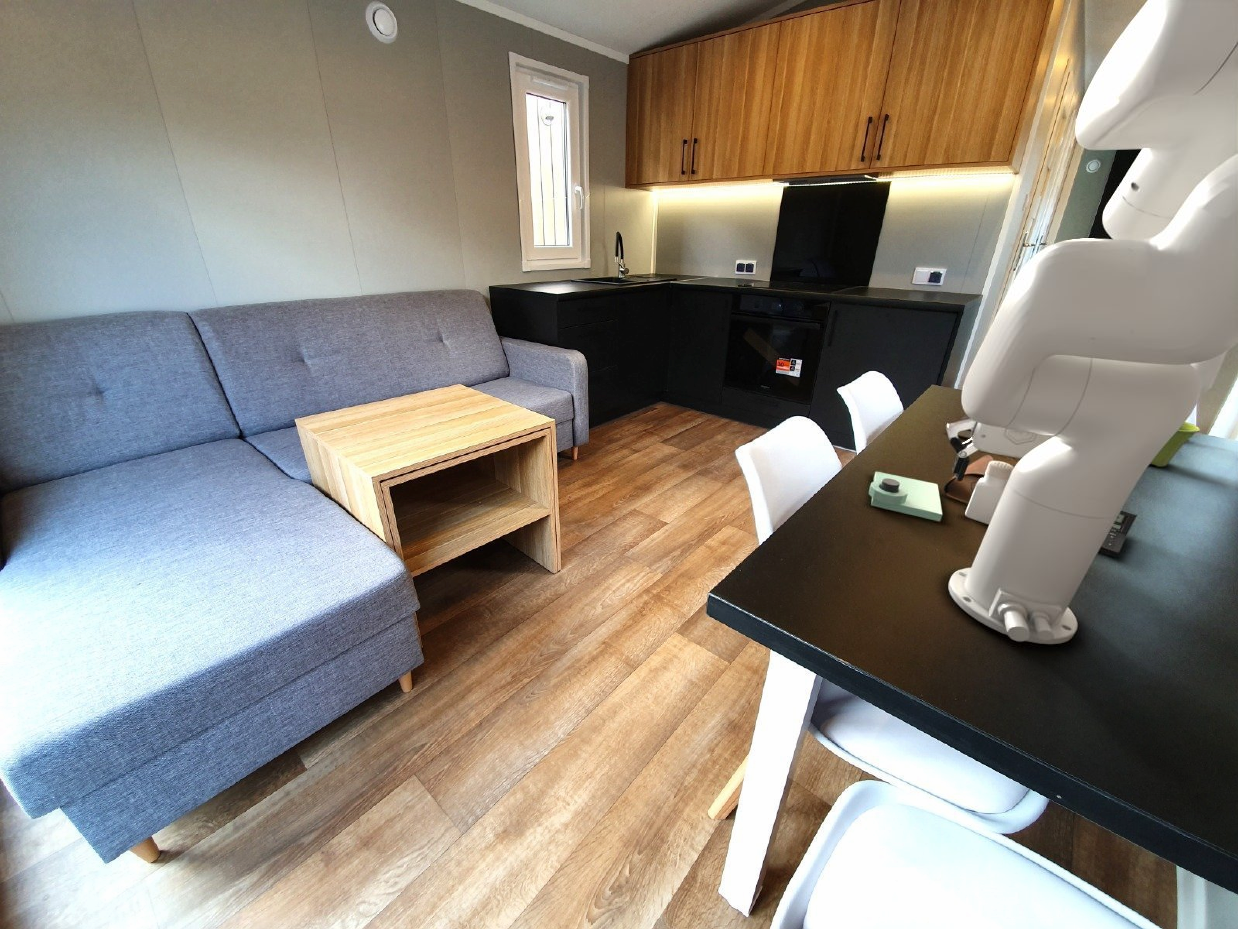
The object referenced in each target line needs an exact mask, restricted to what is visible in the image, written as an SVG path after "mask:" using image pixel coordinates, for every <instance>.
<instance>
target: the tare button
mask: <svg viewBox="0 0 1238 929" xmlns="http://www.w3.org/2000/svg"><path fill="white" fill-rule="evenodd" d="M899 486H900V483H899V482H898V481H896V480H894V479H889V478H885V479H883V480H882V483H881V487H880V488H881V489H882V490H884V491H886V492H891V493H897V492H898V489H899Z"/></svg>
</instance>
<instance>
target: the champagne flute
mask: <svg viewBox="0 0 1238 929" xmlns="http://www.w3.org/2000/svg"><path fill="white" fill-rule="evenodd" d="M1228 351H1229V350H1227V351H1226V352H1224V353H1223V354H1221V355H1219V356H1217V357H1215V358H1213V359H1210V360H1207V361H1204V362H1200V363H1194V364H1191V365H1192V366H1193V367H1194V369H1195V370H1196V371H1197V373H1198V374H1199V377H1200V381H1201V392H1200V394H1203V393H1206V392H1207V391H1209V390H1210V389H1212V387H1213V386H1214V383H1215V381H1216V379H1217V378H1218V374H1219V372H1220V370H1221V367H1222V365H1223V363H1224V360H1225V358H1226V356H1227V353H1228Z"/></svg>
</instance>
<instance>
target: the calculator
mask: <svg viewBox="0 0 1238 929" xmlns="http://www.w3.org/2000/svg"><path fill="white" fill-rule="evenodd" d="M1136 518H1137V514H1134V513H1131V512H1127V511H1123V510H1121V511H1120V513H1119V515H1118V516H1117V518H1116V520H1115V522H1114V524H1113V525H1112V527H1111V529H1110V531H1109V533H1108V535H1107V536H1106V538H1105V540H1104V542H1103V544H1102V545H1101V547H1100V549H1099V551H1098V553H1101V554H1104V555H1106V556H1110V557H1112V558H1117V557H1118V555H1119V554H1120V551H1121V549H1122V546H1123V545H1124V542H1125V540H1126V538H1127V535H1128V533H1129V532H1130V529H1131V527H1132V526H1133V524H1134V522H1135V520H1136Z"/></svg>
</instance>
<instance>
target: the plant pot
mask: <svg viewBox="0 0 1238 929" xmlns="http://www.w3.org/2000/svg"><path fill="white" fill-rule="evenodd" d="M1199 432H1201V428H1200V427H1199V426H1197V425H1195V424H1192V423H1190V422H1187V421H1185V422H1184V424H1183V425H1182V426H1181V427H1180V428H1179V430H1178V431H1177V432H1176V433H1175V434H1174V435H1173V436H1172V437H1171V438H1170V440H1169V441H1168V442H1167V443H1166V444H1165V445H1164V446H1163V448H1162V449H1161V450H1160V451H1159V452H1158V454H1157V455H1156V456H1155V457H1154V459H1153V460H1152V461H1151V463H1150V464H1149V465H1154V466H1156V467H1166V466H1167V465H1168V464H1169V463H1170V462H1171V460H1172V459H1173V458H1174V456H1176V454H1177V453H1178V452H1179V450H1180V449H1181V448H1182V447H1183V446H1184V445H1185V443H1186V442H1187V441H1188V440H1190V439H1191V438H1193V436H1194V435H1195V434H1196V433H1197V434H1198V433H1199Z"/></svg>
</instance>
